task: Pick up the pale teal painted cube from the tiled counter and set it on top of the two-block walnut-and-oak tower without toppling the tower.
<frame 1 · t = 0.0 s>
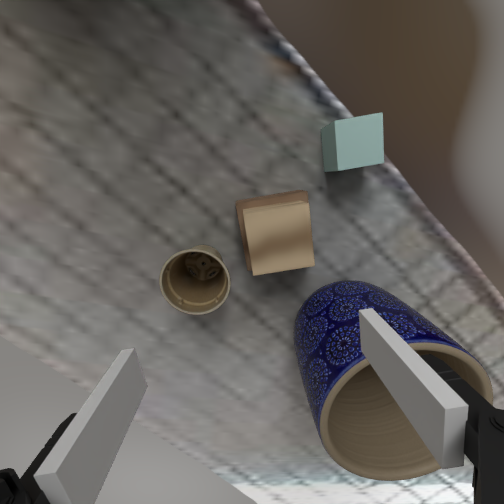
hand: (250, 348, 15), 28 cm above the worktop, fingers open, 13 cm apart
tower base: (272, 226, 42), on the worktop, touching tower top
tower top: (275, 232, 37), point 5 cm above the worktop, touching tower base
flower pot: (204, 262, 43), on the worktop
planter: (336, 315, 47), on the worktop
teal cube: (342, 147, 39), on the worktop
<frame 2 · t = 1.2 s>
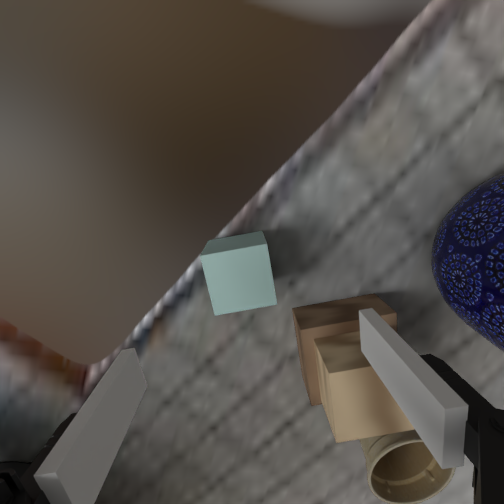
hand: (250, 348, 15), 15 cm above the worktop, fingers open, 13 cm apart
tower base: (335, 335, 33), on the worktop, touching tower top
tower top: (353, 364, 28), point 5 cm above the worktop, touching tower base
flower pot: (372, 404, 36), on the worktop
planter: (483, 241, 30), on the worktop
teal cube: (240, 260, 30), on the worktop
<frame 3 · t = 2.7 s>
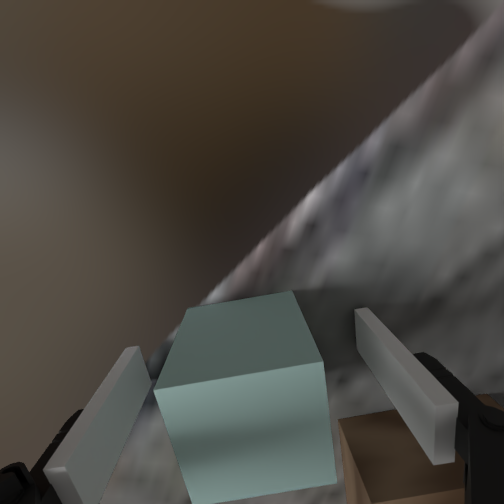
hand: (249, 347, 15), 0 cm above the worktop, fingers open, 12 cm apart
tower base: (409, 456, 19), on the worktop, touching tower top
teal cube: (248, 343, 16), on the worktop
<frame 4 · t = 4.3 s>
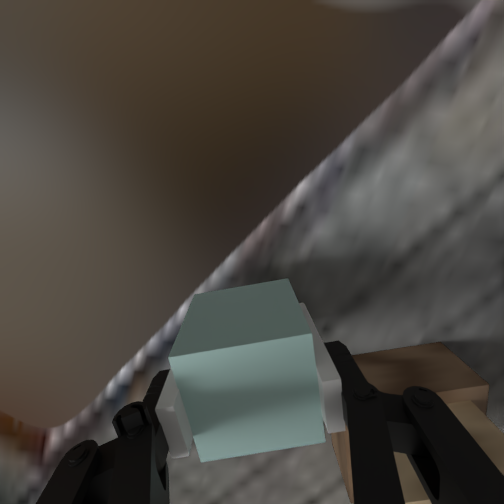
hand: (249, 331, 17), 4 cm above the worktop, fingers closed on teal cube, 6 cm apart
tower base: (381, 393, 24), on the worktop, touching tower top
tower top: (412, 450, 19), point 5 cm above the worktop, touching tower base
teal cube: (249, 327, 17), point 4 cm above the worktop, touching gripper
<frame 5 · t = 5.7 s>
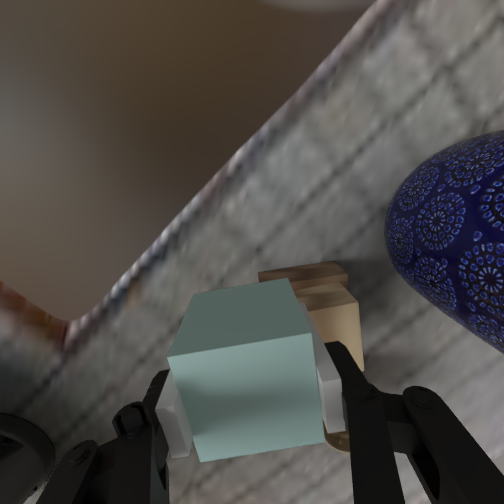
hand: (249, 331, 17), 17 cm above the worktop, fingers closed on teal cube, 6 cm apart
tower base: (299, 300, 36), on the worktop
tower top: (309, 319, 31), point 5 cm above the worktop
flower pot: (333, 370, 39), on the worktop
planter: (434, 217, 33), on the worktop
teal cube: (248, 327, 17), point 17 cm above the worktop, touching gripper
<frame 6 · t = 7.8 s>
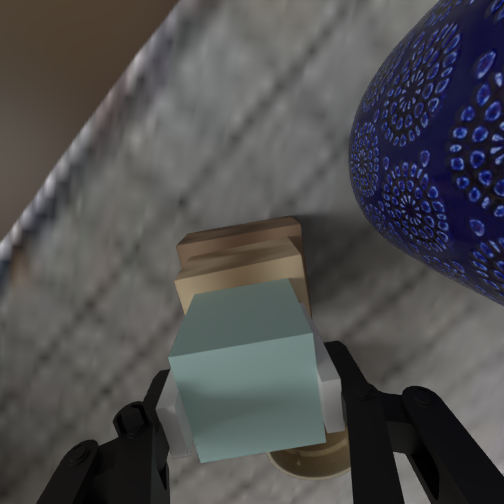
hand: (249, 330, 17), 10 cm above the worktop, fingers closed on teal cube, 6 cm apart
tower base: (247, 271, 27), on the worktop, touching tower top
tower top: (248, 291, 22), point 5 cm above the worktop, touching tower base
flower pot: (298, 365, 30), on the worktop
planter: (422, 151, 24), on the worktop
teal cube: (249, 327, 17), point 10 cm above the worktop, touching gripper
when the fingers open (10 cm above the worktop, at t = 7.9 s): teal cube stays where it is, resting on tower top.
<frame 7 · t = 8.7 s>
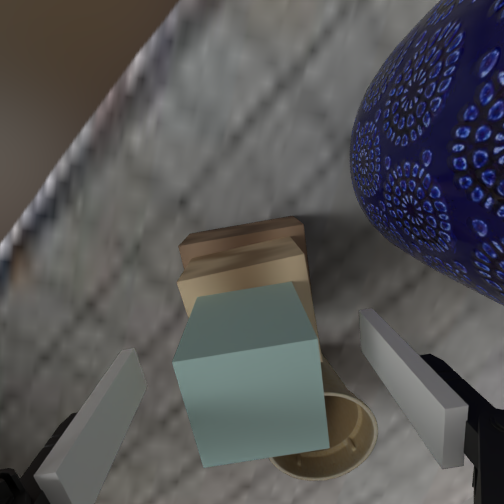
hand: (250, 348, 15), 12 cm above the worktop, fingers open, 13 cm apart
tower base: (249, 271, 27), on the worktop, touching tower top
tower top: (251, 292, 22), point 5 cm above the worktop, touching teal cube, tower base
flower pot: (299, 365, 30), on the worktop
planter: (423, 151, 24), on the worktop
teal cube: (251, 330, 17), point 10 cm above the worktop, touching tower top
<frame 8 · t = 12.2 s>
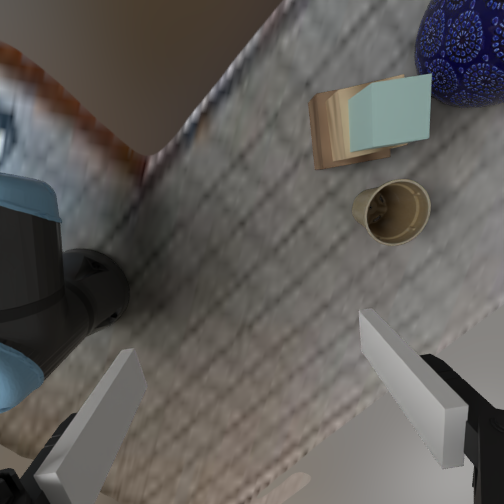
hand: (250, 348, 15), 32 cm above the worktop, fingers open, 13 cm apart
tower base: (341, 132, 42), on the worktop, touching tower top
tower top: (356, 125, 37), point 5 cm above the worktop, touching teal cube, tower base
flower pot: (368, 206, 45), on the worktop
planter: (455, 52, 39), on the worktop
teal cube: (373, 123, 32), point 10 cm above the worktop, touching tower top
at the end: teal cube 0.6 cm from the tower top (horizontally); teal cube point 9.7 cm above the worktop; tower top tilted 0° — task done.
